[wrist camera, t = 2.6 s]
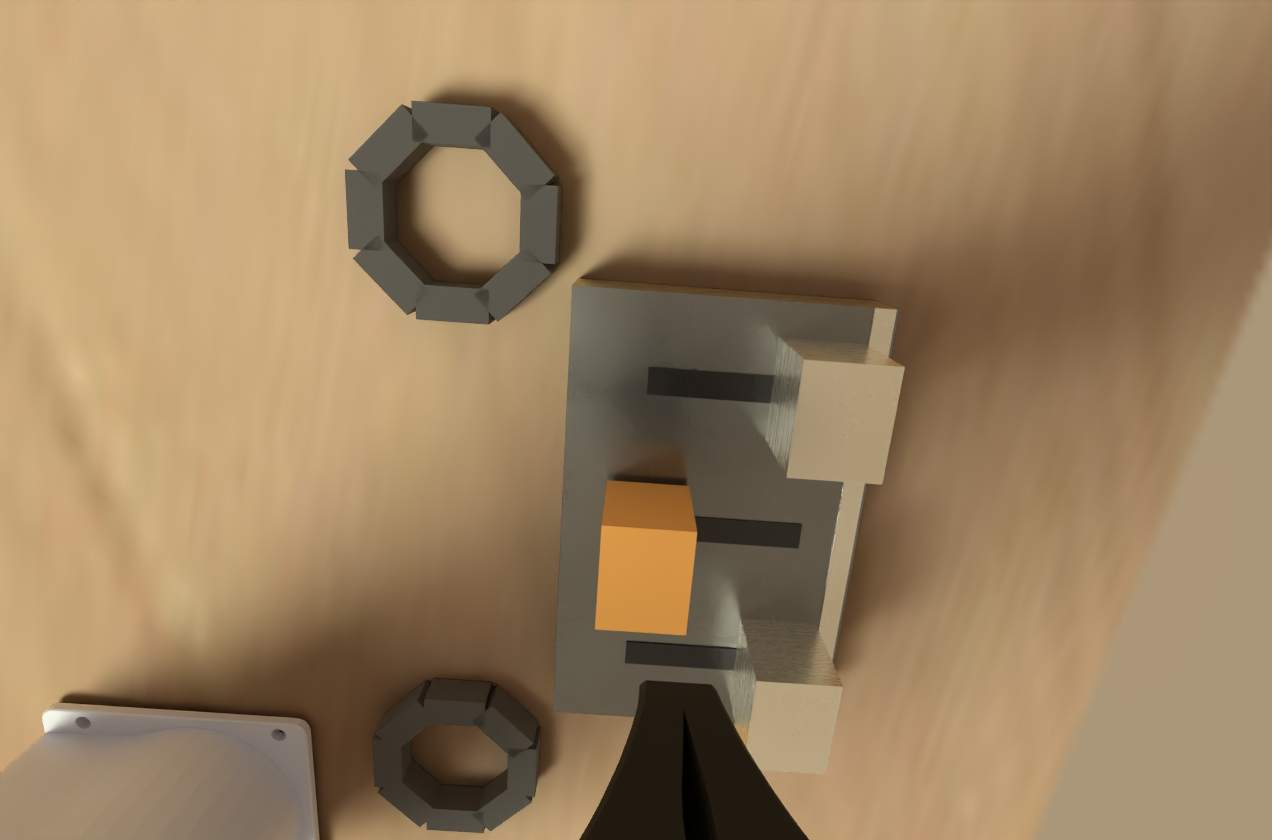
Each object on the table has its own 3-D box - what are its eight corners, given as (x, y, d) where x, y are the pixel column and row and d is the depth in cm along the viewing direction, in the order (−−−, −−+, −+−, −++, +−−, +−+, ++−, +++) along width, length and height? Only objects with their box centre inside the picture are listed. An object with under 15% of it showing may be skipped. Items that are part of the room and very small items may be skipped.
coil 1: (366, 309, 21) (352, 314, 20) (357, 101, 19) (341, 95, 18) (556, 323, 21) (552, 329, 20) (564, 118, 19) (560, 112, 18)
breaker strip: (559, 672, 25) (540, 784, 20) (578, 278, 20) (559, 298, 16) (807, 688, 25) (848, 803, 20) (875, 300, 21) (947, 327, 16)
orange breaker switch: (601, 571, 21) (594, 629, 18) (607, 480, 20) (601, 525, 17) (679, 576, 21) (686, 635, 18) (689, 486, 20) (697, 532, 17)
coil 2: (387, 802, 26) (376, 826, 25) (381, 675, 25) (370, 695, 24) (537, 811, 26) (533, 836, 25) (542, 685, 25) (538, 706, 24)
